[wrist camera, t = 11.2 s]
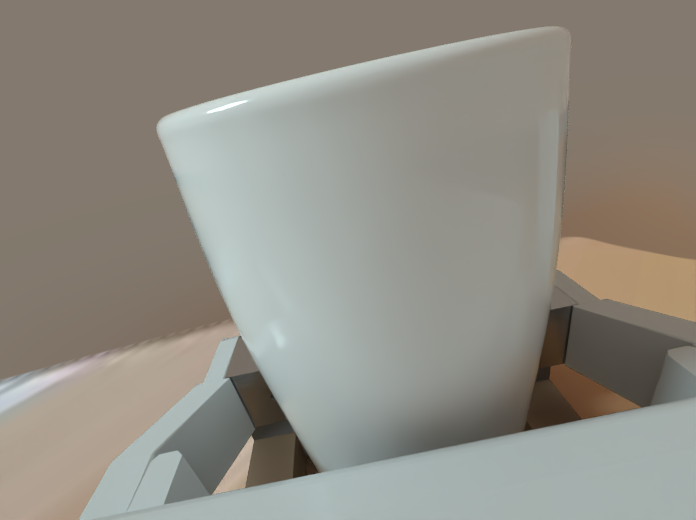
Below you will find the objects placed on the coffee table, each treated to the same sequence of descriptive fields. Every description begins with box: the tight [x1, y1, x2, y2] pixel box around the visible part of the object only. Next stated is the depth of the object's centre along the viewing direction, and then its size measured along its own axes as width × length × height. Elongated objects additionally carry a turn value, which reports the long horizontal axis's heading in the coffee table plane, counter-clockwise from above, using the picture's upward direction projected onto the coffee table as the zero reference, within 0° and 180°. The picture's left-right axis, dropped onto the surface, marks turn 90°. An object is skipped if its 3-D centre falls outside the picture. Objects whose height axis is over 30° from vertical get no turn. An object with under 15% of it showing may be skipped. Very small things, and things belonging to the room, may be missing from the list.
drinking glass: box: [156, 26, 572, 473], centre depth 9 cm, size 7×7×15 cm
